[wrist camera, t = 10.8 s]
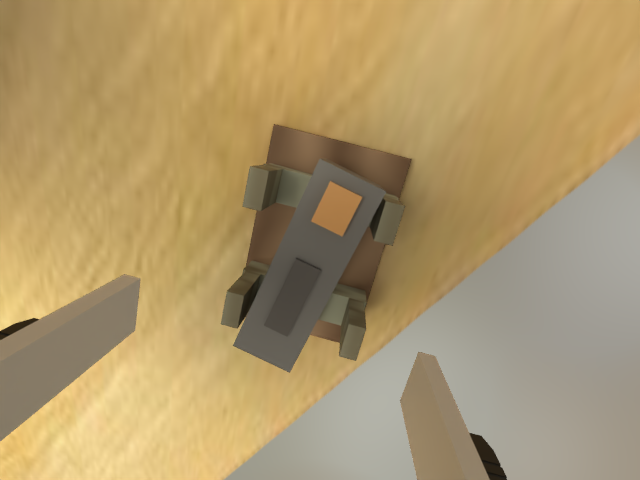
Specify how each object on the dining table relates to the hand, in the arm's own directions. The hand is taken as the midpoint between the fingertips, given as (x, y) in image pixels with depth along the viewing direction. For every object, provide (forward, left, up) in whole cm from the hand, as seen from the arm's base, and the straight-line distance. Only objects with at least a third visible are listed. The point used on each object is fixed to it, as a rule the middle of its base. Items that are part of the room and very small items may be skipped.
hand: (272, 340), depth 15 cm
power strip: (0, 0, -15) cm, 15 cm away
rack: (0, 0, -19) cm, 19 cm away
